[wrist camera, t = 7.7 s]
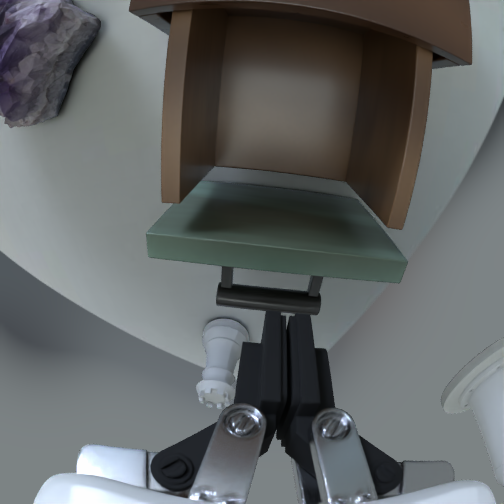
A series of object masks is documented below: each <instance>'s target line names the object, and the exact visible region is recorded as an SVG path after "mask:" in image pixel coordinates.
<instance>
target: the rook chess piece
mask: <svg viewBox="0 0 504 504" xmlns="http://www.w3.org/2000/svg"><path fill="white" fill-rule="evenodd" d="M202 341H203V347H204V348H205V352H206V354H207V361H206V368H205V370H204V371H203V372H202V377H203V380H202V381H201V382H199V383H198V384H197V386H196V391H197V393H198V394H199V396H198V397H199V401H200V403H204V402H205V401H206V402H207V404H206V406H207V407H210V408H212V405H213V404H217V409H223V406H224V404H225V406H226V407H228V406H229V405H230V401H231V400H232V399H233V398H234V397H235V392H236V391H235V390H234V388H233V387H232V384H233V383H234V382H235V376H234V375H233V373H234V369H235V366H236V363H237V360H239V358H240V357H241V349H242V343H243V342H249V334H248V332H247V330H246V329H245V328H244V327H243V326H242V325H241V324H240V323H239V322H237V321H234V320H232V319H226V318H221V319H216V320H213V321H211V322H210V323H208V324H207V325H206V326H205V328H204V330H203V336H202Z"/></svg>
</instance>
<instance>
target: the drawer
mask: <svg viewBox="0 0 504 504" xmlns="http://www.w3.org/2000/svg"><path fill="white" fill-rule="evenodd" d="M432 57H433V52H432V51H430V50H428V49H426V48H423V47H421V46H418V45H416V44H413V43H411V42H408V41H406V40H403V39H400V38H398V37H395V36H392V35H389V34H386V33H383V32H380V31H377V30H373V29H370V28H366V27H363V26H359V25H355V24H351V23H347V22H343V21H339V20H334V19H329V18H324V17H319V16H313V15H307V14H301V13H294V12H286V11H276V10H264V9H246V8H208V9H190V10H178V11H173V12H172V19H171V26H170V33H169V41H168V50H167V59H166V70H165V81H164V95H163V113H162V141H161V197H162V202H163V203H173V204H172V205H171V207H170V208H169V209H168V210H167V211H166V212H165V213H164V214H163V215H162V216H161V217H160V218H159V219H158V220H157V222H156V223H155V224H154V225H153V226H152V227H151V228H150V229H149V230H148V232H147V233H146V238H147V249H148V257H150V258H158V259H166V260H174V261H183V262H191V263H200V264H209V265H217V266H222V275H221V282H219V284H218V288H217V296H216V304H217V306H224V307H233V308H242V309H251V310H260V311H266V310H272V311H280V312H281V313H293V314H295V313H302V314H310V315H318V313H319V311H320V306H321V295H320V293H319V291H320V287H321V283H322V280H323V277H333V278H344V279H355V280H366V281H377V282H389V283H400V282H401V279H402V277H403V274H404V271H405V268H406V266H407V263H408V261H407V259H406V258H405V257H404V255H403V254H402V253H401V251H400V250H399V249H398V248H397V246H396V245H395V244H394V243H393V241H392V240H391V239H390V237H389V236H388V235H387V234H386V233H385V231H384V230H383V229H382V228H381V226H380V225H379V224H378V223H377V222H376V220H375V219H374V218H373V217H372V216H371V214H370V213H369V212H368V211H367V210H366V209H365V208H364V206H363V205H362V204H361V203H360V202H359V201H358V200H357V199H353V198H347V197H340V196H334V195H327V194H320V193H313V192H306V191H298V190H290V189H282V188H273V187H264V186H255V185H245V184H234V183H222V182H209V181H201V180H202V179H203V178H204V177H205V176H206V175H207V174H208V173H209V172H210V171H211V170H212V168H213V167H214V166H218V167H231V168H242V169H253V170H263V171H272V172H281V173H289V174H297V175H304V176H311V177H318V178H325V179H331V180H338V181H344V182H346V183H347V184H348V185H349V186H350V187H351V188H352V189H353V190H354V191H355V192H356V193H357V194H358V195H359V197H360V198H361V199H362V200H363V201H364V202H365V203H366V204H367V205H368V206H369V207H370V208H371V210H372V211H373V212H374V213H375V214H376V215H377V216H378V217H379V219H380V220H381V221H382V222H383V223H384V224H385V225H386V227H388V228H393V229H399V230H402V229H403V226H404V223H405V219H406V216H407V212H408V208H409V205H410V201H411V197H412V193H413V189H414V185H415V180H416V176H417V171H418V167H419V162H420V157H421V151H422V146H423V140H424V134H425V128H426V121H427V114H428V106H429V97H430V87H431V75H432ZM234 267H235V268H244V269H254V270H263V271H273V272H282V273H292V274H302V275H311V277H310V282H309V286H308V291H299V290H289V289H278V288H268V287H259V286H249V285H240V284H232V283H233V268H234Z"/></svg>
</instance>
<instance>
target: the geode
mask: <svg viewBox="0 0 504 504" xmlns="http://www.w3.org/2000/svg"><path fill="white" fill-rule="evenodd" d="M100 27H101V21H100V20H99V19H98V18H97V17H96V16H95V15H93V14H91V13H88V12H85V11H83V10H81V9H80V8H79V7H77V6H75V5H73V2H72V0H0V115H1V116H2V117H6V118H5V124H8V125H9V127H10V128H12V127H15V126H17V127H21V126H31V125H35V124H37V123H39V122H43V121H45V120H47V119H49V118H52V117H55V116H57V115H58V113H59V110H60V106H61V103H62V101H63V99H64V97H65V94H66V92H67V89H68V85H69V82H70V79H71V76H72V72H73V69H74V68H75V66H76V65H77V64H78V62H79V61H80V59H81V57H82V55H83V53H84V52H85V51H86V49H87V48H88V47H89V45H90V44H91V43H92V41H93V40H94V38H95V36H96V34H97V32H98V30H99V29H100Z"/></svg>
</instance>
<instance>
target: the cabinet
mask: <svg viewBox="0 0 504 504" xmlns="http://www.w3.org/2000/svg"><path fill="white" fill-rule="evenodd" d="M208 8H246V9H264V10H276V11H286V12H294V13H301V14H307V15H313V16H319V17H324V18H329V19H334V20H339V21H343V22H347V23H351V24H355V25H359V26H363V27H366V28H370V29H373V30H377V31H380V32H383V33H386V34H389V35H392V36H395V37H398V38H400V39H403V40H406V41H408V42H411V43H413V44H416V45H418V46H421V47H423V48H426V49H428V50H430V51H432V52H433V57H432V69H437V68H444V67H453V66H460V65H461V66H464V65H472V30H471V16H470V6H469V0H131V2H130V7H129V12H131V13H133V14H134V15H136V16H138V17H140V18H141V19H143V20H145V21H146V22H148V23H150V24H151V25H153V26H155V27H156V28H158V29H160V30H161V31H163V32H164V33H166V34H167V35H169V33H170V26H171V19H172V12H173V11H178V10H190V9H208Z"/></svg>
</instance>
